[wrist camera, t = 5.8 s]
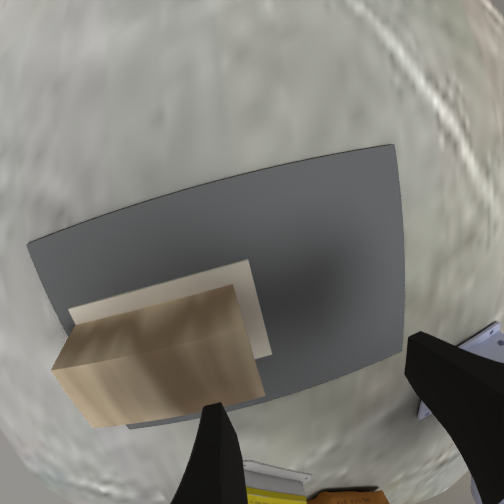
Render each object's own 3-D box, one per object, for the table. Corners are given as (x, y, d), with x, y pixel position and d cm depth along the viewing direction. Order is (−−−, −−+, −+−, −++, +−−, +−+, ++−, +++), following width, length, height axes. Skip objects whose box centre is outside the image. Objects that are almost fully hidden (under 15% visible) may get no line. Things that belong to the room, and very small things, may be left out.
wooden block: (245, 327, 12) (50, 370, 11) (265, 395, 13) (92, 427, 12) (232, 283, 15) (75, 325, 15) (250, 346, 17) (106, 379, 16)
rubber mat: (391, 144, 15) (396, 144, 14) (399, 348, 20) (403, 352, 19) (28, 243, 13) (25, 245, 13) (129, 426, 18) (129, 430, 18)
